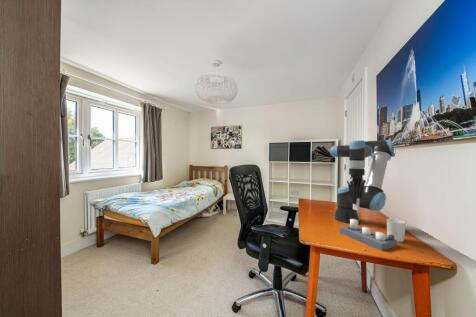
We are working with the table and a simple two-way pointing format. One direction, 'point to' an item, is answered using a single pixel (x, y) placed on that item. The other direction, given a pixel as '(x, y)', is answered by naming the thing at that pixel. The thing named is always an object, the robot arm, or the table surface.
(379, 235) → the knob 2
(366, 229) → the white oval solid
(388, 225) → the white cup
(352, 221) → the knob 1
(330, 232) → the table surface
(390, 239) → the grey egg holder
